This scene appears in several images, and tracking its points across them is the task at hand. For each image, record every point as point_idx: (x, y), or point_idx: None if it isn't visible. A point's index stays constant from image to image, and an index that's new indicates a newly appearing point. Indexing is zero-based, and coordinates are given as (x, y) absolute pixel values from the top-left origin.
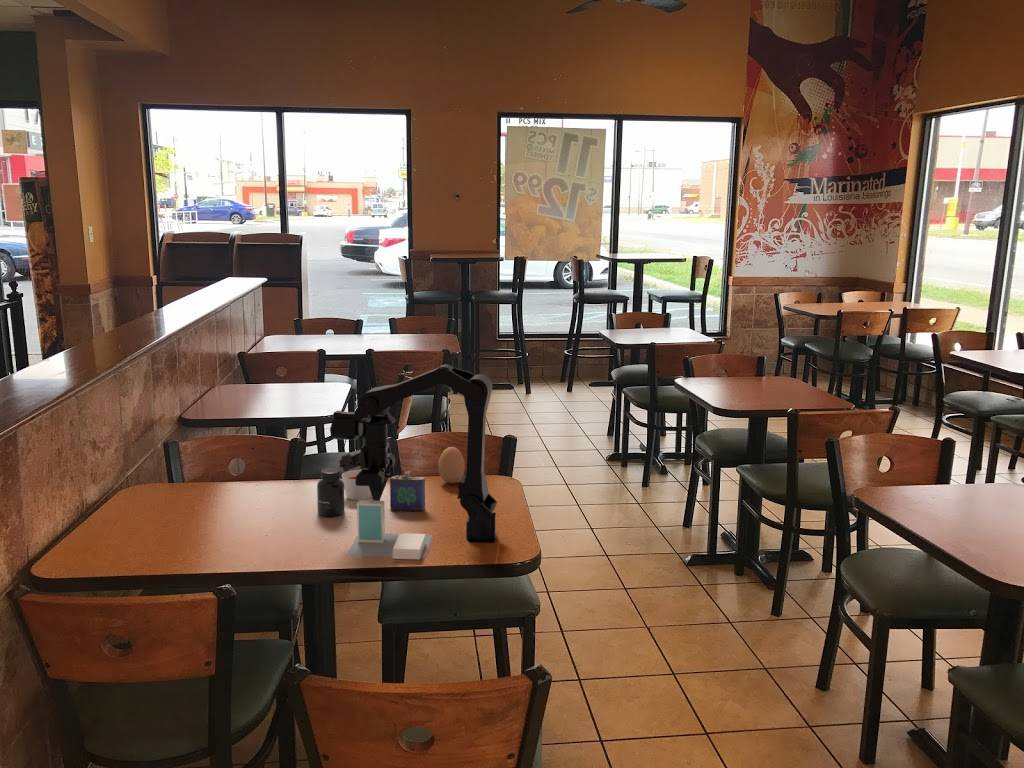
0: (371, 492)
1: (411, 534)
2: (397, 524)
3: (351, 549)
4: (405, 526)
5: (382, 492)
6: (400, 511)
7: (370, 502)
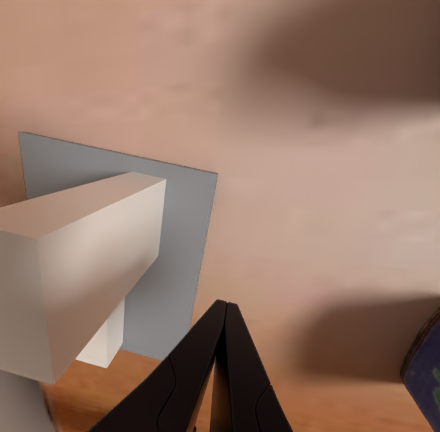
0: (171, 354)
1: (100, 338)
2: (300, 298)
3: (67, 150)
4: (276, 316)
5: (211, 408)
6: (429, 323)
7: (6, 311)
